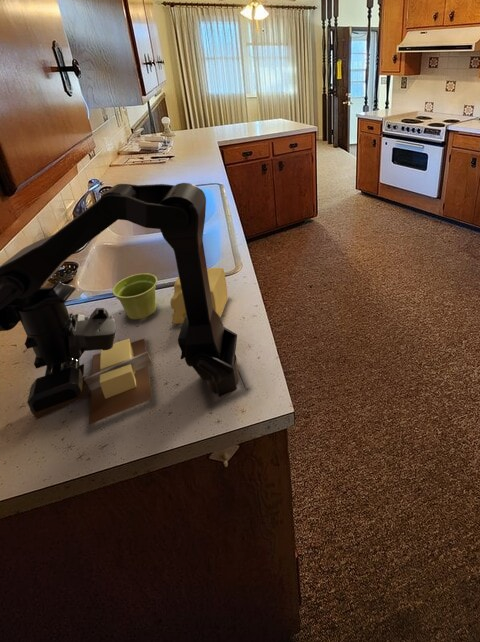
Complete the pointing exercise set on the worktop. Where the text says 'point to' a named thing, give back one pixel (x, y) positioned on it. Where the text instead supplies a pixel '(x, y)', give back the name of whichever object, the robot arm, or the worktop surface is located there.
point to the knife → (98, 381)
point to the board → (126, 399)
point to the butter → (116, 354)
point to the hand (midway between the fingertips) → (76, 391)
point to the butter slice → (117, 381)
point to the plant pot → (137, 295)
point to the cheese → (216, 289)
